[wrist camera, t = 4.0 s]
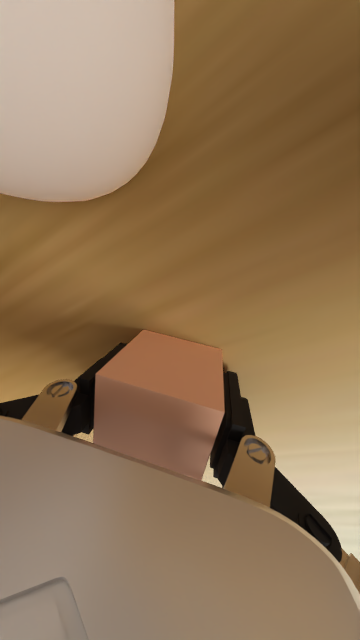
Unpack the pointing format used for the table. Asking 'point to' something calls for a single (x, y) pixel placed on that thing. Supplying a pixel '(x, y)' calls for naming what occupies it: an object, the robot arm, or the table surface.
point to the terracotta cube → (161, 402)
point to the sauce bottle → (81, 94)
